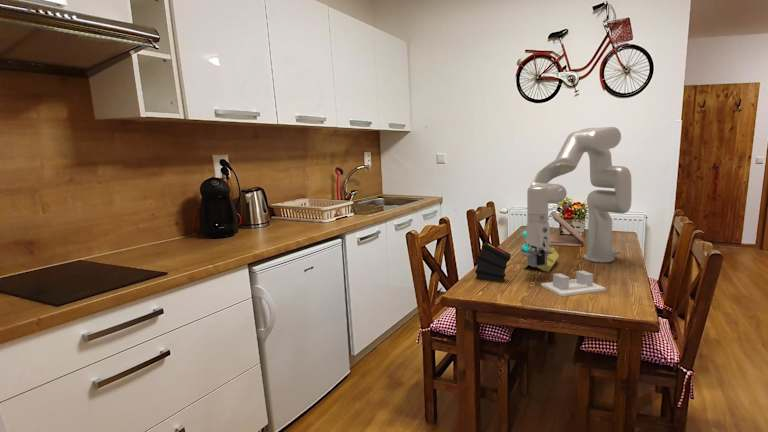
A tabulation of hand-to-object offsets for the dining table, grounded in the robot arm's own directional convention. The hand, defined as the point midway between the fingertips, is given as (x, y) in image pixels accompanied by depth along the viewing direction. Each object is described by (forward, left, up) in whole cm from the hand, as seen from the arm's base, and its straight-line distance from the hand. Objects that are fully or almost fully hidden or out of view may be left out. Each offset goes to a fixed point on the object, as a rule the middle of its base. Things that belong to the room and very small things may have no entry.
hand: (537, 262), depth 164 cm
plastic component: (-13, -15, -7) cm, 21 cm away
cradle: (-5, +14, -6) cm, 17 cm away
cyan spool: (-23, -39, -7) cm, 46 cm away
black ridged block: (+17, -5, -7) cm, 19 cm away
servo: (0, 0, -1) cm, 1 cm away
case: (-48, -51, -7) cm, 70 cm away
